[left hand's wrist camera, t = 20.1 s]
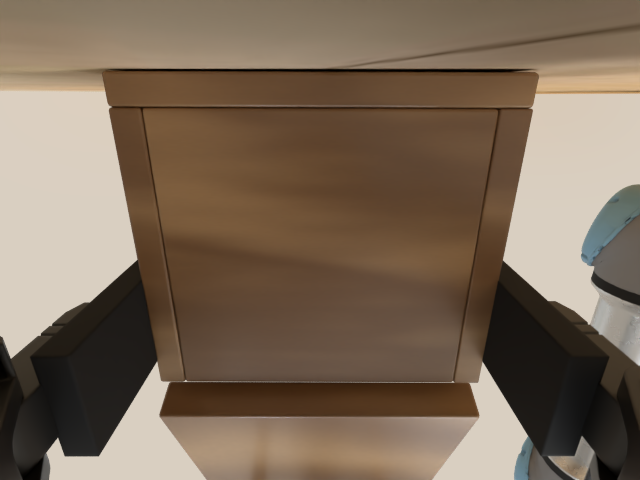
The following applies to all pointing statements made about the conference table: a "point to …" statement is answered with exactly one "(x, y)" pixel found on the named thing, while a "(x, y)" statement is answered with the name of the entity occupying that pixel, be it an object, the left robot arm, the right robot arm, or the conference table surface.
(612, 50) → the conference table surface
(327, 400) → the lid
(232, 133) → the chest
